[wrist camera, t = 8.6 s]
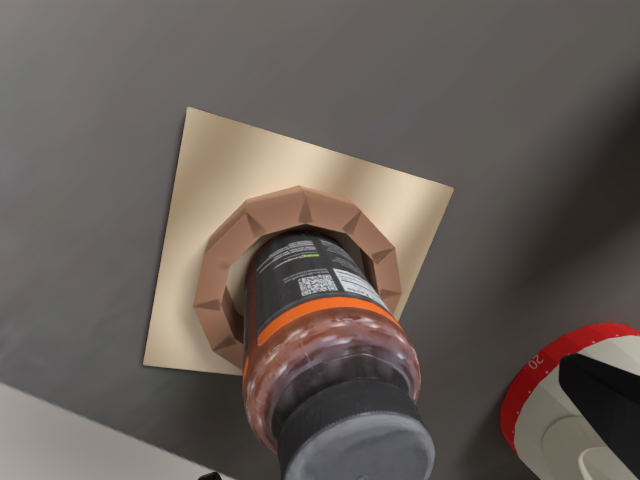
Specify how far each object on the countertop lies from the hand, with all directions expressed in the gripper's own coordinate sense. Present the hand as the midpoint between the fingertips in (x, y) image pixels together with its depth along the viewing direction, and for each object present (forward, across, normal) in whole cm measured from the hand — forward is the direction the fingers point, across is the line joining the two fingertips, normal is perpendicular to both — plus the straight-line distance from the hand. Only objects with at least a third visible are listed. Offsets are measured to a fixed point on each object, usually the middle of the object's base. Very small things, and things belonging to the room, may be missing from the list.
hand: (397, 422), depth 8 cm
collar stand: (+12, +2, +1) cm, 12 cm away
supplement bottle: (+11, +1, +1) cm, 11 cm away
